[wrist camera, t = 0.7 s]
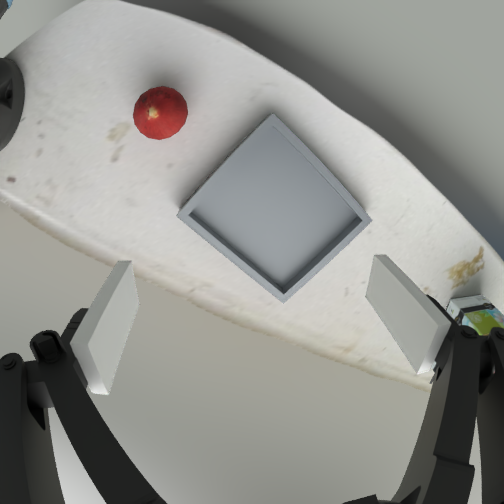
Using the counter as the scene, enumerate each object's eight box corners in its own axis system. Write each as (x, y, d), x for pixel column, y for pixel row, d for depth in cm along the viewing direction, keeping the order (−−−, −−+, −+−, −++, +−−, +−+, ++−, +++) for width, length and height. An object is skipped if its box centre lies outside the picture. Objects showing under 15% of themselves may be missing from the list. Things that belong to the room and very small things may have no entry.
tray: (179, 210, 37) (176, 216, 35) (270, 113, 33) (273, 113, 31) (280, 293, 43) (283, 303, 41) (364, 214, 39) (372, 220, 37)
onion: (135, 108, 32) (111, 105, 24) (175, 80, 31) (161, 70, 23) (159, 146, 34) (141, 153, 27) (200, 120, 33) (192, 119, 26)
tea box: (447, 298, 47) (494, 347, 33) (481, 293, 47) (526, 335, 34) (423, 359, 53) (456, 410, 39) (457, 351, 54) (491, 396, 40)
